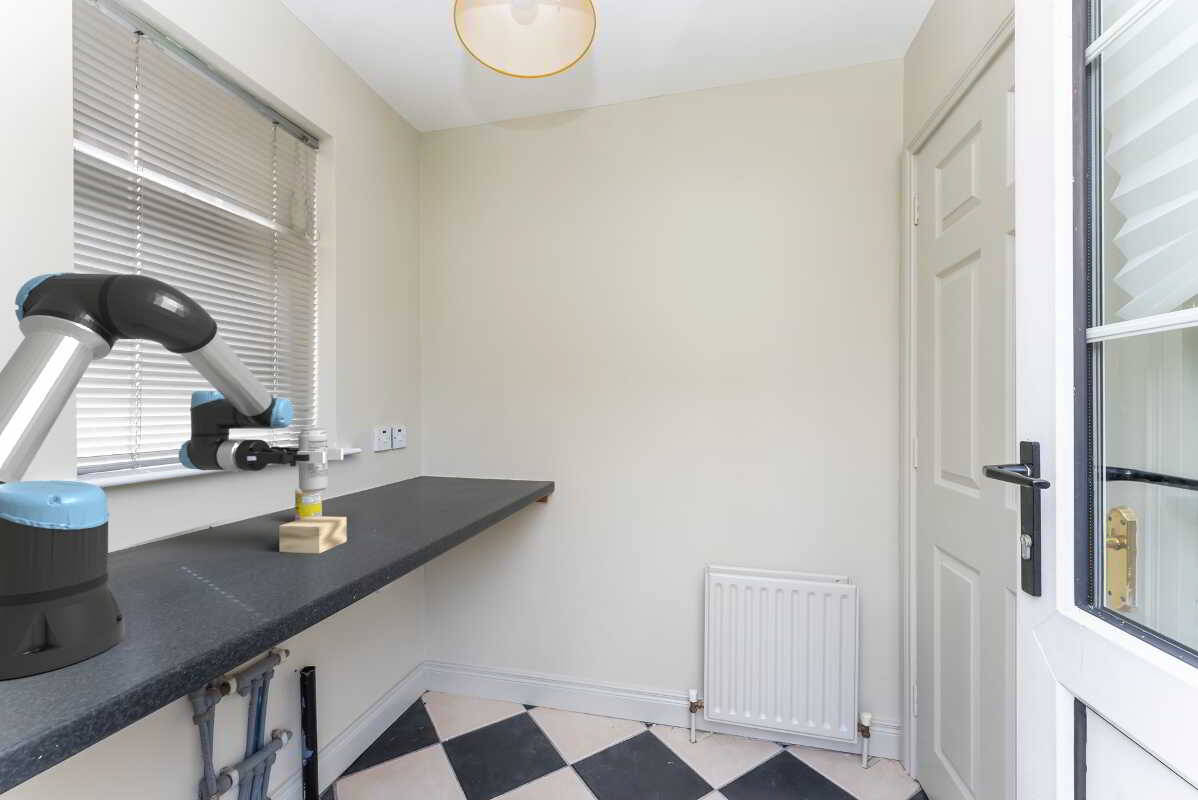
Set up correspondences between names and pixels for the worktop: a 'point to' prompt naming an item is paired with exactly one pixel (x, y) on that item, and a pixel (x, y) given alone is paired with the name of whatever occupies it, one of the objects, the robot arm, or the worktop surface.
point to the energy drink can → (312, 474)
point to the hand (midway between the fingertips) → (333, 455)
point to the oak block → (312, 534)
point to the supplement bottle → (307, 504)
